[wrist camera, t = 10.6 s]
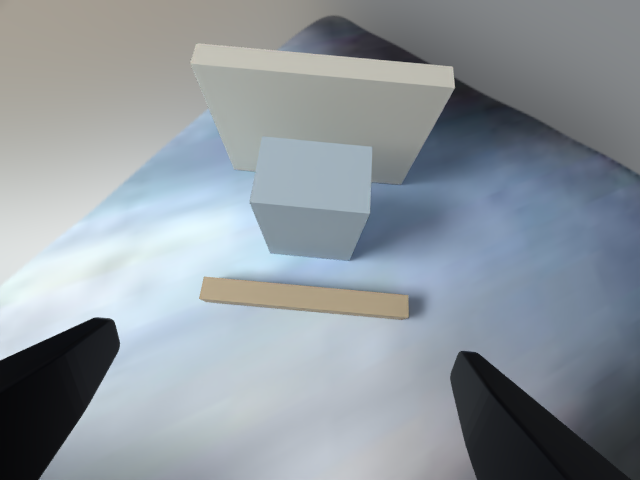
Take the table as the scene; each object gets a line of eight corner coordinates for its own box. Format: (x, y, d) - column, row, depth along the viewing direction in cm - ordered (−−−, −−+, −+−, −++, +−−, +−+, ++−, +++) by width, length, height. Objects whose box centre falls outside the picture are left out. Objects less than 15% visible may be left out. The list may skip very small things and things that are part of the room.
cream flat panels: (402, 319, 22) (473, 296, 12) (206, 302, 22) (126, 264, 12) (400, 169, 26) (452, 66, 17) (237, 154, 26) (196, 43, 16)
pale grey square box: (349, 261, 23) (369, 213, 15) (270, 253, 23) (249, 202, 15) (352, 204, 25) (373, 134, 17) (279, 197, 25) (264, 124, 17)
